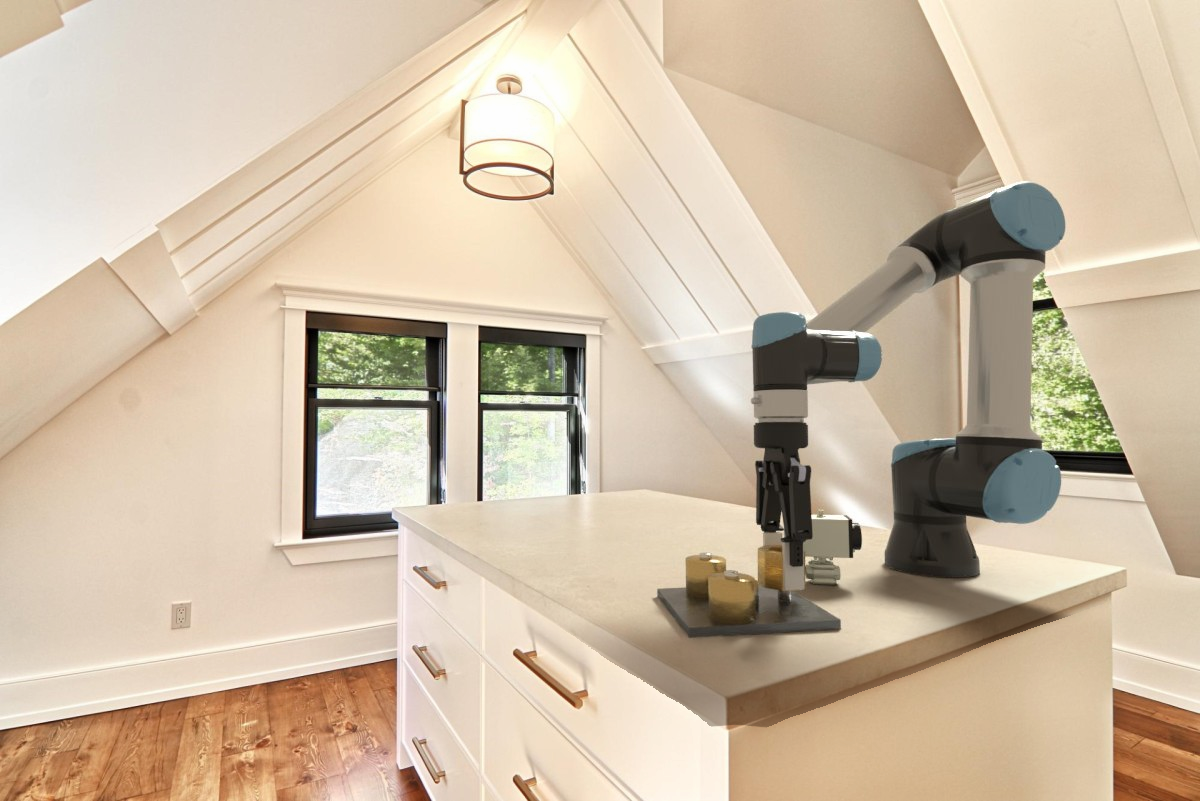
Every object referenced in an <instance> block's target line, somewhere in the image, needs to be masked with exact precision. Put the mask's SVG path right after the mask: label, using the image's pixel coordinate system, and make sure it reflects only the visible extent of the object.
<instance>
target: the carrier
mask: <svg viewBox="0 0 1200 801" xmlns="http://www.w3.org/2000/svg"><path fill="white" fill-rule="evenodd" d="M656 594H657V598H658V600H659V601H660V602H661V603H662V604H663V606H664V607H665V608H666V610H667V611H668V613H669V614H670V615H671V616H672V618H673V619H674V620H675V621H676V622H677V624H678V625H679V626H680V628H681V629H682V630H683V632H684V633H685V634H686V636H688V638H691V639H692V638H704V637H705V638H706V637H707V638H708V637H721V636H722V637H725V636H741V635H742V636H744V635H760V634H778V633H779V634H780V632H781V633H796V632H798V633H799V632H815V631H829V630H830V631H831V630H835V631H836V630H842V625H841V624H842V623H841V622H842V621H841V619H840V618H838V617H837V616H835V615H834V614H832V613H830V612H829V611H827V610H825V609H824V608H822V607H821V606H819V605H818V604H816V603H814V602H813V601H811V600H809V599H808V598H806V597H804V596H803V595H802V594H799V593H797V592H796V591H780V590H774V589H769V588H764V587H763V586H761V585H760V584H758V579H755V577H754V576H752V575H750V574H746V573H741V572H740V573H739V571H738V570H732V569H729V570H728V569H727V559H726V558H725V557H723V556H719V555H714V554H712V553H710V552H700V553H699V554H695V555H689V556H687V557H685V587H669V588H668V587H665V588H657V591H656Z"/></svg>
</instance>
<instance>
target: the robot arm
mask: <svg viewBox="0 0 1200 801" xmlns="http://www.w3.org/2000/svg"><path fill="white" fill-rule="evenodd" d="M1059 202H1060V201H1058V199H1057V198H1056V197H1055V196H1054V195H1053V193H1052V192H1051V191H1049V190H1048V189H1047V188H1046V187H1044V186H1043V185H1041V184H1039V183H1036V182H1032V181H1020V182H1016V183H1013V184H1009V185H1007V186H1003V187H998V188H997V189H995V190H994V191H993V190H992V192H990V193H987V194H985V195H983V196H981V197H978V198H975V199H973V200H971V201H968V202H966V203H964V204H962V205H959V206H957V207H954V208H951V209H948V210H946V211H944V212H942V213H941V214H939V215H937V216H936V217H934V218H933V219H931V220H929V222H927V223H926V224H924V225H923V226H922V227H920V228H919V229H918V230H916V231H915V232H914V233H912V235H910V236H909V237H908V238H907V239H905V240H904V241H903V242H902V243H900V244H899V245H898V246H897V247H895V248H894V249H893V250H891V252H890V253H888V255H887V258H886V262H885V263H884V264H882V265H881V266H880V267H878V268H877V269H876V270H875V271H873V272H872V273H870V274H869V275H868V276H866V277H865V278H864V279H863V280H861V281H860V282H859V283H857V284H856V285H855V286H854V287H852V288H851V289H850V290H849V291H847V292H845V294H843V295H842V296H841V297H839V298H837V300H835V301H834V302H832V303H831V304H830V305H829V306H827V307H826V308H825V309H824V310H822V311H821V312H820V313H819V314H817V315H816V316H815V317H813V318H812V319H811V320H810V321H808V322H807V321H806V320H807V319H806V317H805V315H804V314H802V313H799V312H795V311H781V312H780V311H779V312H770V313H765V314H762V315H760V316H757V317H756V318H755V320H754V321H753V323H752V324H753V326H752V327H753V329H752V334H751V336H752V339H751V340H752V341H751V347H750V348H751V349H752V381H753V383H752V384H753V389H752V390H753V397H751V399H750V403H751V404H752V405H753V418H755V419H758V420H757V422H755V423H754V424H753V446H754V447H755V448H758V449H764V453H763V454H764V455H763V460H755V463H754V465H755V473H756V474H755V476H756V489H755V490H756V493H755V494H756V497H755V498H756V500H755V502H756V504H755V506H756V507H755V509H756V510H755V522H756V523H755V524H756V525H757V526H760V530H761V531H762V544H763V545H762V546H771V545H782V553H783V589H784V590H797V591H803V590H805V587H804V548H803V542H805V541H806V540H811V539H812V537H813V534H812V515H813V514H812V500H811V499H812V496H811V477H812V467H811V465H809V464H807V465H804V464H801V459H800V455H799V449H806V448H807V447H808V446H809V424H807V422H805V419H807V418H808V416H809V401H808V400H809V399H808V398H809V397H808V394H809V392H808V385H818V384H827V383H828V384H829V383H834V382H836V383H837V382H838V383H839V382H848V383H855V382H865V381H866V382H867V381H869V380H871V379H872V378H873V377H875V376H876V375H877V373H878V371H879V370H880V368H881V365H882V362H883V358H882V355H883V354H882V352H883V351H882V347H881V344H880V342H879V340H878V339H877V338H876V337H875V336H874V335H873V334H872V333H871V334H870V333H868V332H867V331H869V330H870V329H871V328H874V326H875V325H876V324H878V323H879V322H881V321H882V320H883V319H884V318H886V317H887V316H888V315H889V314H891V313H892V312H893V311H894V310H895V309H897V308H898V307H899V306H901V305H902V304H903V303H904V302H905V301H907V300H908V299H909V298H910V297H912V296H914V294H922V293H925V292H927V291H929V290H930V289H931V288H932V287H933V286H935V285H936V284H938V283H940V282H942V281H945V280H947V279H950V278H953V277H956V276H960V277H962V279H964V281H967V283H969V285H970V286H969V287H970V289H969V290H970V293H969V297H970V298H969V327H968V330H969V331H968V364H967V365H968V367H967V368H968V369H967V401H966V402H967V403H966V406H967V408H966V424H965V426H964V427H963V428H962V429H961V430H959V431H958V432H957V433H956V434H955V438H954V437H953V438H933V439H932V438H931V439H921V440H913V441H911V440H910V441H905V442H900V443H897V444H895V446H894V447H893V449H892V453H891V457H892V458H891V463H890V467H891V484H892V486H891V487H892V504H893V509H892V510H893V524H892V528H891V531H890V533H889V538H888V541H887V544H886V547H885V550H884V554H883V555H884V565H885V566H886V567H888V568H890V569H893V570H897V571H899V572H904V573H907V574H913V575H917V576H918V575H919V576H925V577H926V576H929V577H936V578H937V577H939V578H967V577H974V576H977V575H979V574H980V572H981V565H980V564H981V563H980V558H979V556H978V555H977V551H976V548H975V545H974V543H973V540H972V538H971V535H970V532H969V530H968V527H967V517H971V518H972V517H973V518H978V519H982V520H989V521H994V522H995V523H998V524H1001V523H1003V524H1008V523H1009V524H1019V525H1021V524H1022V525H1025V524H1032V523H1034V522H1037V521H1039V520H1041V519H1042V518H1043V517H1045V516H1046V514H1047V513H1048V512H1049V511H1051V510H1052V508H1054V505H1055V504H1056V502H1057V501H1058V498H1059V496H1060V491H1061V487H1062V474H1061V469H1060V466H1059V465H1057V460H1056V459H1055V457H1054V456H1053V455H1051V454H1050V453H1049V452H1047V451H1046V450H1043V439H1042V437H1041V436H1040V435H1038V433H1036V432H1035V431H1034V430H1033V429H1032V427H1031V410H1032V409H1031V408H1032V404H1031V403H1032V402H1031V401H1032V366H1033V365H1032V358H1033V357H1032V356H1033V354H1032V352H1033V349H1032V348H1033V307H1034V305H1033V304H1034V303H1033V302H1034V279H1035V278H1036V277H1037V276H1038V275H1039V274H1041V273H1042V272H1043V271H1044V270H1045V269H1046V252H1049V251H1051V250H1053V249H1054V248H1055V247H1057V246H1058V245H1059V244H1060V243H1061V240H1063V239H1064V237H1065V232H1066V219H1065V214H1064V211H1063V208H1062V206H1061V204H1060V203H1059ZM781 518H782V523H783V525H781ZM784 531H785V537H784V536H783V532H784Z"/></svg>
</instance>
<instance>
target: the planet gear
mask: <svg viewBox="0 0 1200 801" xmlns="http://www.w3.org/2000/svg"><path fill="white" fill-rule="evenodd" d="M805 565H806V557H805V551H804V588H806V575H805ZM757 581H758V584H760V585H761V586H763V587H764V588H769V589H774V590H780V591H794V592H796V591H798V590H784V589H783V553H782V545H771V546H763V545H762V546H760V547H757Z"/></svg>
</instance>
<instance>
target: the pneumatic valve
mask: <svg viewBox="0 0 1200 801" xmlns="http://www.w3.org/2000/svg"><path fill="white" fill-rule="evenodd" d="M811 515H812V534H813V537H812V539H811V540H806V541H805V542H803V548H804V551H805V558H806V557H807V558H808V557H809V558H812V557H813V559H811V560H808V561H807V563H805V579H807V580H810V583H811V584H813V585H818V586H835V585H837V581H840V580H841V568H840V566H839V565H836V564H835V563H834V558H837V559H839V558H840V559H844V558H845V559H854V553H855V552H856V551H861V549H862V545H863V536H862V535H863V534H862V528H861V525H860V523H859V522H853V519H852V518H850V516H848V515H841V514H840V515H839V514H825V510H824V509H818V510H817V514H811ZM784 537H785V531H784V530H783V538H784ZM827 559H828V560H827Z"/></svg>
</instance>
